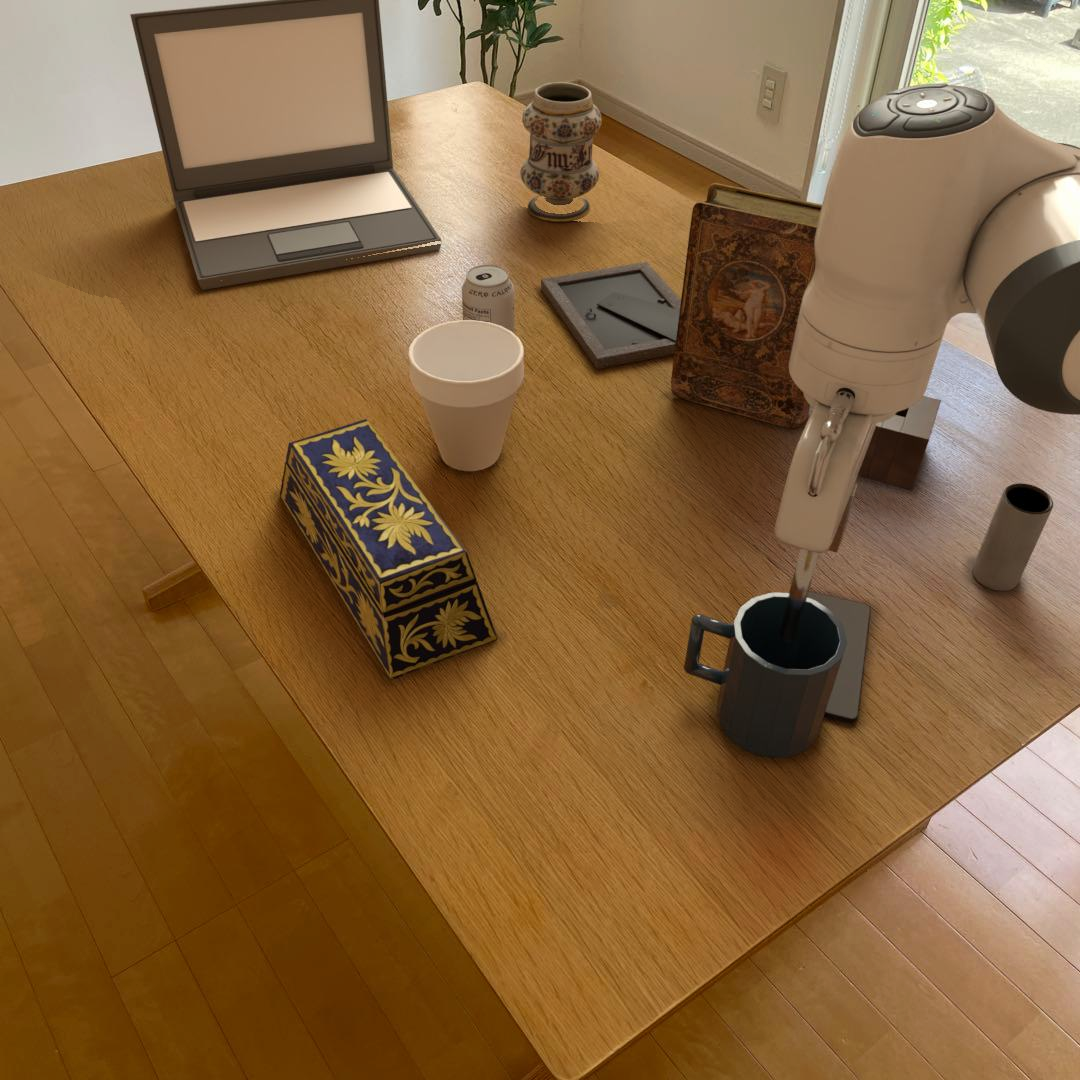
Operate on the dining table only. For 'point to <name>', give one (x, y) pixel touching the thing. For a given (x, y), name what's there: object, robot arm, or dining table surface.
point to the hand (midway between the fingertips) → (820, 515)
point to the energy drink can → (489, 296)
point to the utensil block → (900, 444)
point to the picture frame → (617, 312)
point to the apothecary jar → (560, 147)
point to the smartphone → (847, 656)
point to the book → (744, 303)
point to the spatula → (807, 579)
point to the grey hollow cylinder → (1012, 536)
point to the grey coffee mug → (772, 673)
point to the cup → (467, 388)
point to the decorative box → (384, 549)
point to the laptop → (278, 137)
